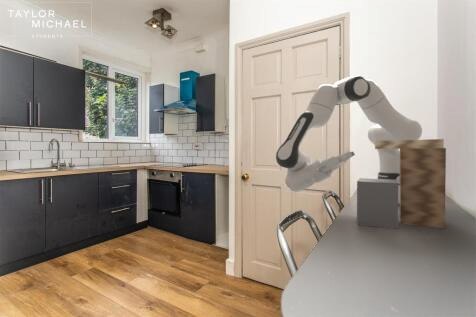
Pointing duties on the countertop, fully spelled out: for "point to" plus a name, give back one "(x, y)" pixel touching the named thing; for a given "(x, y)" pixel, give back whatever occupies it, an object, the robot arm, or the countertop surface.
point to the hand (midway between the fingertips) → (352, 153)
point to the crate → (377, 202)
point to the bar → (409, 144)
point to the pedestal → (422, 186)
